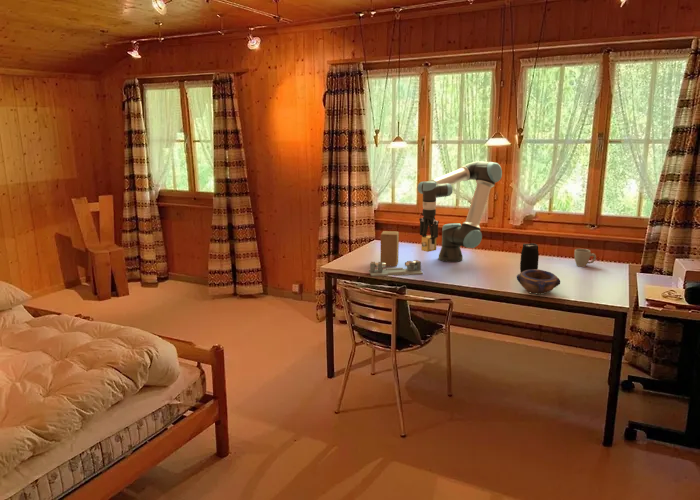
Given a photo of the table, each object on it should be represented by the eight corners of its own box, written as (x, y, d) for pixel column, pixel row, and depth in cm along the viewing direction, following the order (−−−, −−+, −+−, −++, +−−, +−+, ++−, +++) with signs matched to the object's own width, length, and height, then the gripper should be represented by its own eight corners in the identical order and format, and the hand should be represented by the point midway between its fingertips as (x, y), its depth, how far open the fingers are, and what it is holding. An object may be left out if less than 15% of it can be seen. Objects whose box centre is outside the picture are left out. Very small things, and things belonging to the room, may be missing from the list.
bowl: (537, 299, 255) (538, 280, 253) (511, 289, 271) (512, 271, 269) (564, 294, 263) (565, 275, 260) (537, 285, 279) (538, 267, 276)
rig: (418, 269, 310) (418, 266, 310) (422, 274, 301) (422, 271, 300) (368, 271, 307) (368, 268, 307) (371, 276, 297) (371, 273, 297)
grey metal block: (417, 270, 309) (417, 260, 308) (420, 272, 305) (420, 261, 304) (404, 271, 306) (404, 261, 305) (407, 273, 302) (407, 263, 301)
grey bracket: (385, 272, 305) (385, 262, 304) (385, 274, 301) (385, 264, 300) (371, 271, 307) (371, 261, 305) (370, 273, 302) (370, 263, 301)
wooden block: (396, 266, 317) (397, 234, 313) (380, 266, 319) (380, 234, 315) (398, 262, 327) (398, 231, 322) (382, 261, 329) (382, 230, 324)
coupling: (431, 248, 308) (431, 235, 306) (437, 249, 304) (437, 236, 302) (420, 250, 302) (420, 237, 301) (426, 252, 299) (426, 238, 297)
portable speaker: (537, 281, 286) (540, 246, 281) (519, 280, 288) (521, 245, 283) (536, 276, 294) (539, 243, 289) (519, 275, 296) (521, 242, 291)
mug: (573, 266, 314) (574, 251, 312) (573, 263, 322) (575, 248, 320) (594, 268, 309) (596, 252, 307) (595, 265, 317) (596, 249, 315)
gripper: (413, 207, 302) (413, 246, 308) (435, 211, 288) (434, 252, 293) (422, 206, 306) (422, 244, 312) (445, 210, 292) (444, 250, 298)
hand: (428, 248), depth 303 cm, fingers closed on coupling, 5 cm apart
